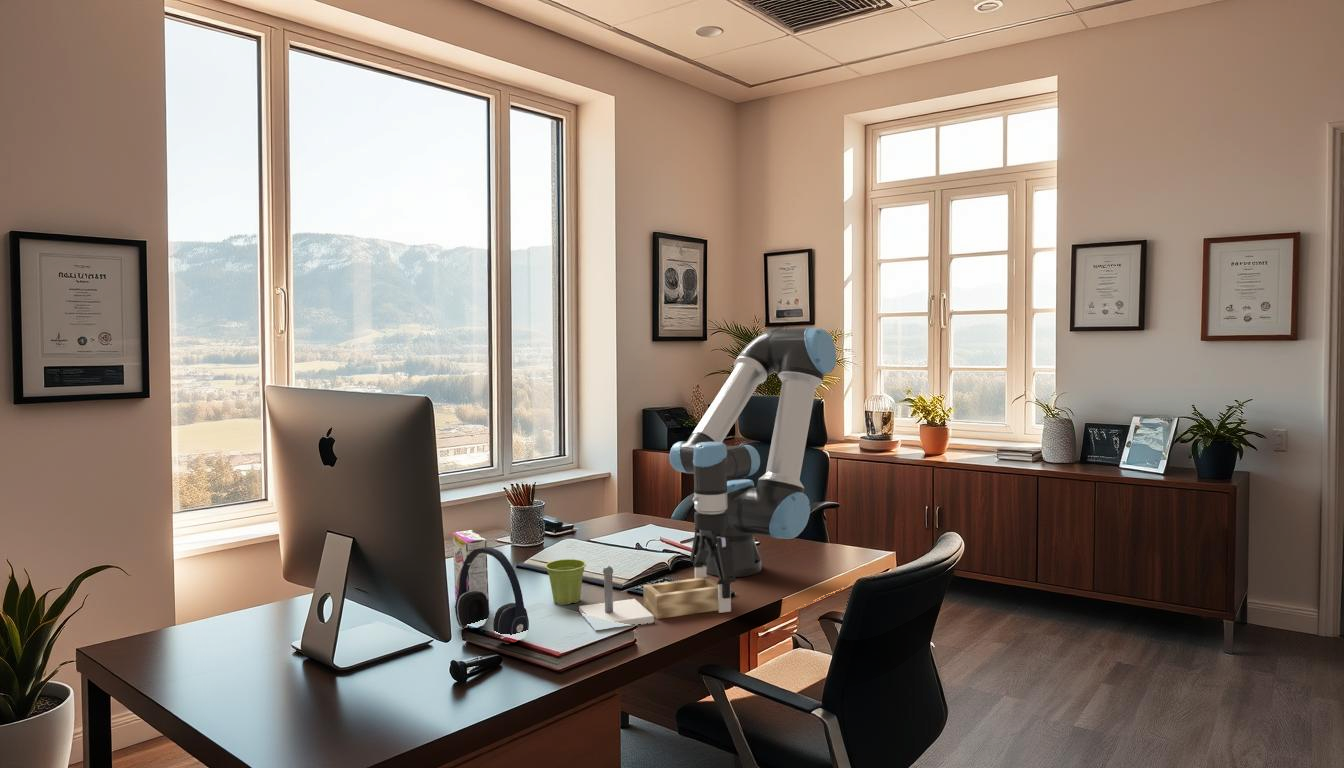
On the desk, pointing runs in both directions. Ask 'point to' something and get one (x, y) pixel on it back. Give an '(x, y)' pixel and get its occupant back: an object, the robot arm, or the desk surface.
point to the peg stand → (617, 606)
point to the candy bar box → (478, 569)
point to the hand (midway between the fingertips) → (712, 603)
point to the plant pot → (566, 580)
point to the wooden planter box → (681, 597)
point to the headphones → (476, 604)
